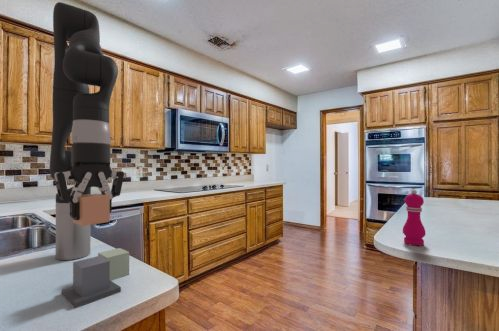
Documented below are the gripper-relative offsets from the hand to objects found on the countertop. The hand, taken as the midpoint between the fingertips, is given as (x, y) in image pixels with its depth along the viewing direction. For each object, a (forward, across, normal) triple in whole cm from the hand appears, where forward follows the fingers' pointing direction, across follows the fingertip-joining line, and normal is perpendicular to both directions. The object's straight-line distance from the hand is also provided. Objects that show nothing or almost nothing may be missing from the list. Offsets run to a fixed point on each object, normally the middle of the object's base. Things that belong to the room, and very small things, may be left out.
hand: (91, 217), depth 60 cm
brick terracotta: (+1, 0, 0) cm, 1 cm away
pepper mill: (+17, -91, +50) cm, 105 cm away
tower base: (+17, 0, 0) cm, 17 cm away
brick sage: (+17, -8, -6) cm, 20 cm away
